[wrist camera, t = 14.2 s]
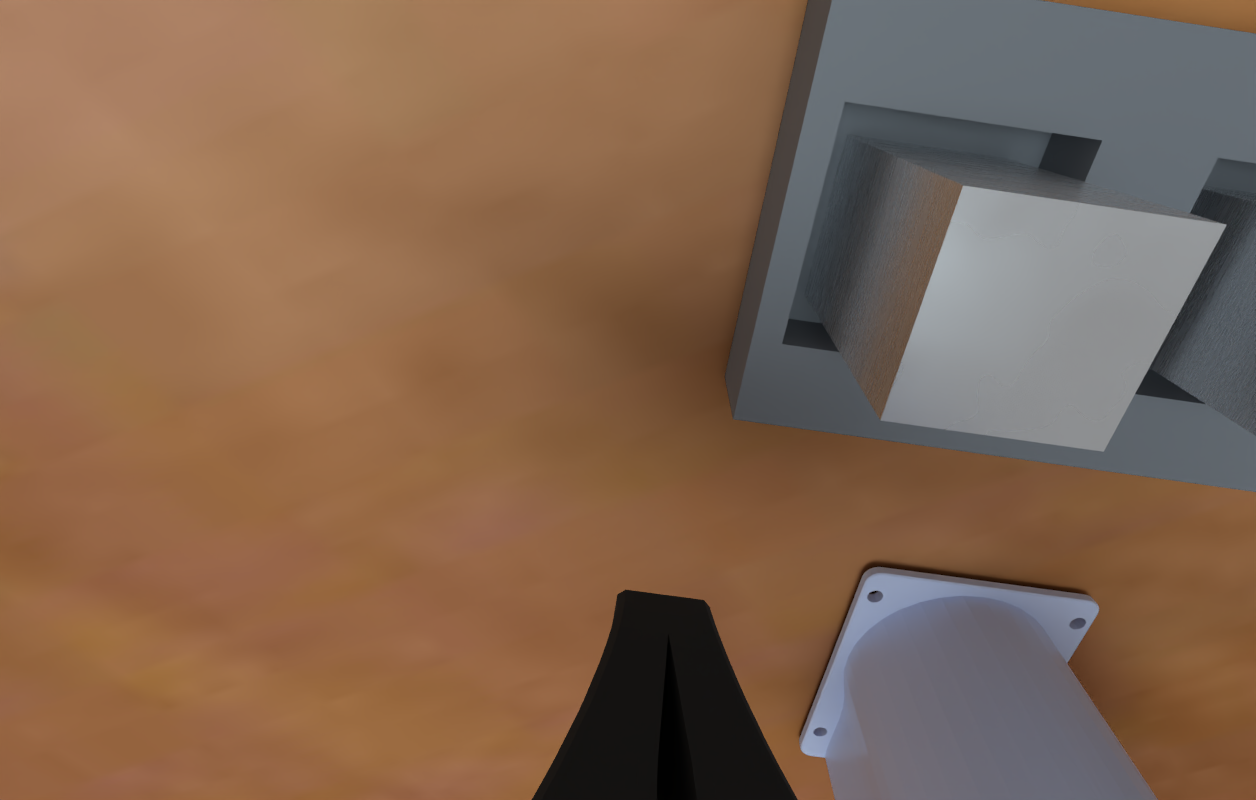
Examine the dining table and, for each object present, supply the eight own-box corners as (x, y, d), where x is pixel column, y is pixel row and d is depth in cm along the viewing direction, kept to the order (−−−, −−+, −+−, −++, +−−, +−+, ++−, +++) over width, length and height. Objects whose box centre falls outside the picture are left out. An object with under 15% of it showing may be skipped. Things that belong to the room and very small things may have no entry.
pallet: (1218, 445, 20) (1289, 496, 18) (724, 376, 20) (733, 419, 18) (1449, 80, 16) (1586, 84, 13) (812, -18, 15) (839, -32, 13)
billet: (950, 314, 18) (1103, 451, 12) (804, 293, 18) (880, 420, 12) (1009, 159, 16) (1226, 224, 10) (846, 134, 16) (963, 185, 10)
